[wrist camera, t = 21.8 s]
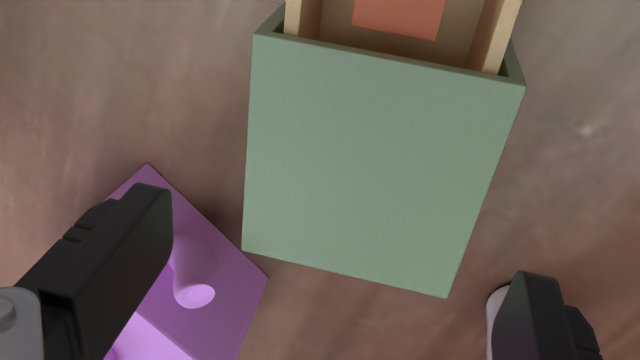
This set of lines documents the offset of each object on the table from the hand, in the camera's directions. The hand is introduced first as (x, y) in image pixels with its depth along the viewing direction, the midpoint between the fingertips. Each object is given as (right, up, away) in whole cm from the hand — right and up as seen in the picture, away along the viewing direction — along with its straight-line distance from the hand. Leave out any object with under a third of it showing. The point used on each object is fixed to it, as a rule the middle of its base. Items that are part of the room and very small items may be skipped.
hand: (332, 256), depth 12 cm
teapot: (-14, -5, +37) cm, 40 cm away
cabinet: (+4, +7, +25) cm, 26 cm away
